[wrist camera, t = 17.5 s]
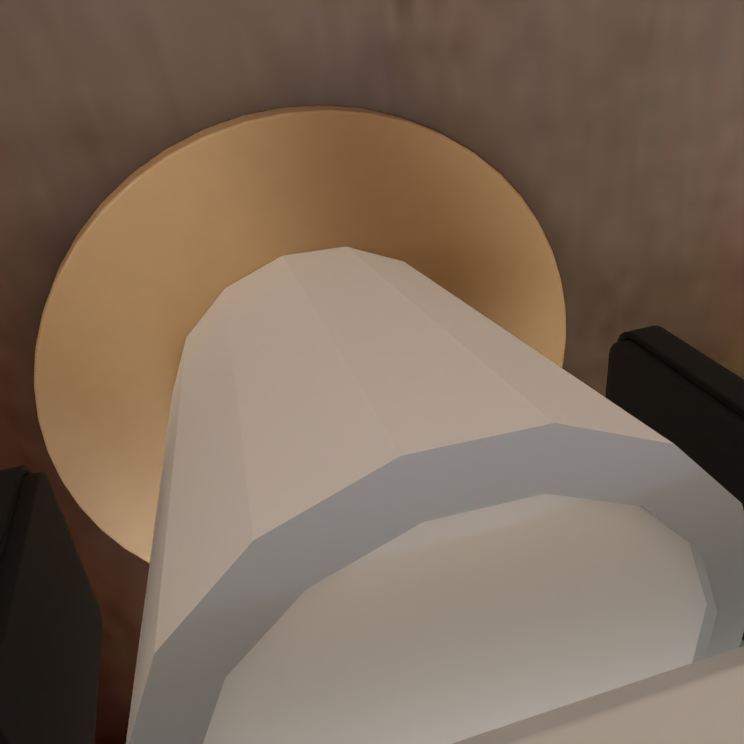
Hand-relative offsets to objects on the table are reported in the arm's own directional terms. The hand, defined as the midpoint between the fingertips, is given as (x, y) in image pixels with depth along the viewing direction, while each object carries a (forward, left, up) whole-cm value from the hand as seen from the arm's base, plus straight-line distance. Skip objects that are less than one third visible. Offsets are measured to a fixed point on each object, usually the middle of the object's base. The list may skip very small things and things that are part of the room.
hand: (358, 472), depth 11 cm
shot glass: (0, 0, -3) cm, 3 cm away
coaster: (0, 0, -3) cm, 3 cm away
